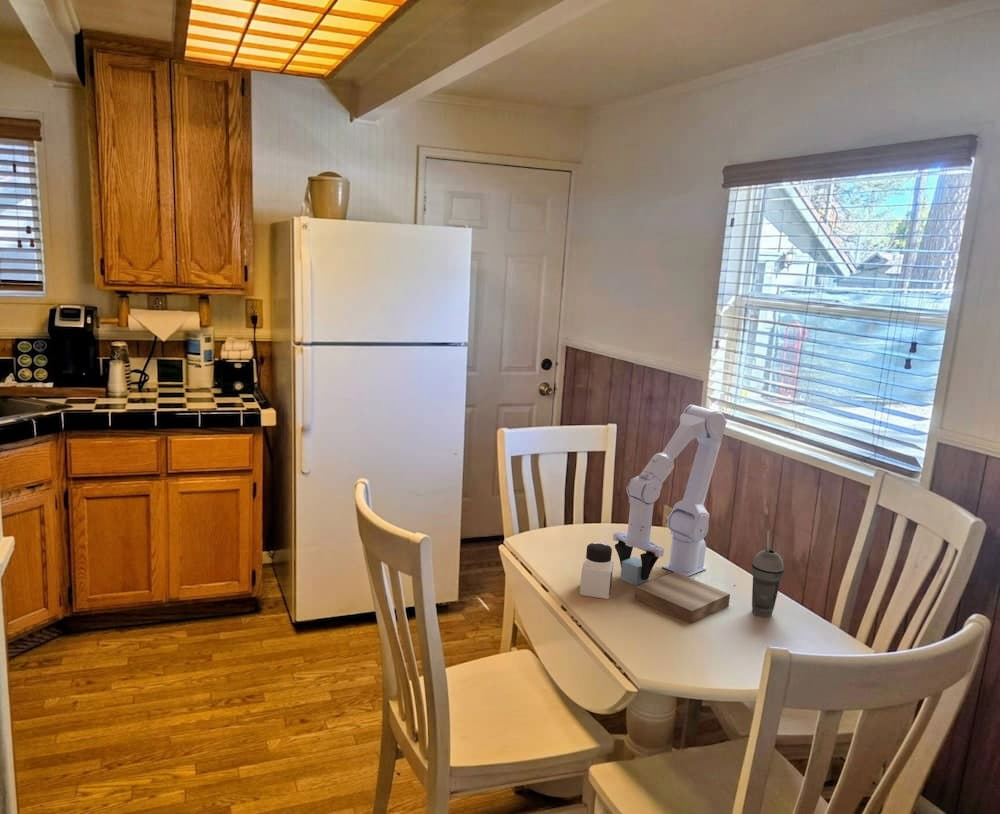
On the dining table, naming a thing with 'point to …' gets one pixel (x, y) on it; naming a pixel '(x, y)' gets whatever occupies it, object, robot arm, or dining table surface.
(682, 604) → the walnut plinth
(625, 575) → the slate block
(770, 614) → the beverage cup
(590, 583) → the medicine bottle
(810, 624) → the dining table surface
